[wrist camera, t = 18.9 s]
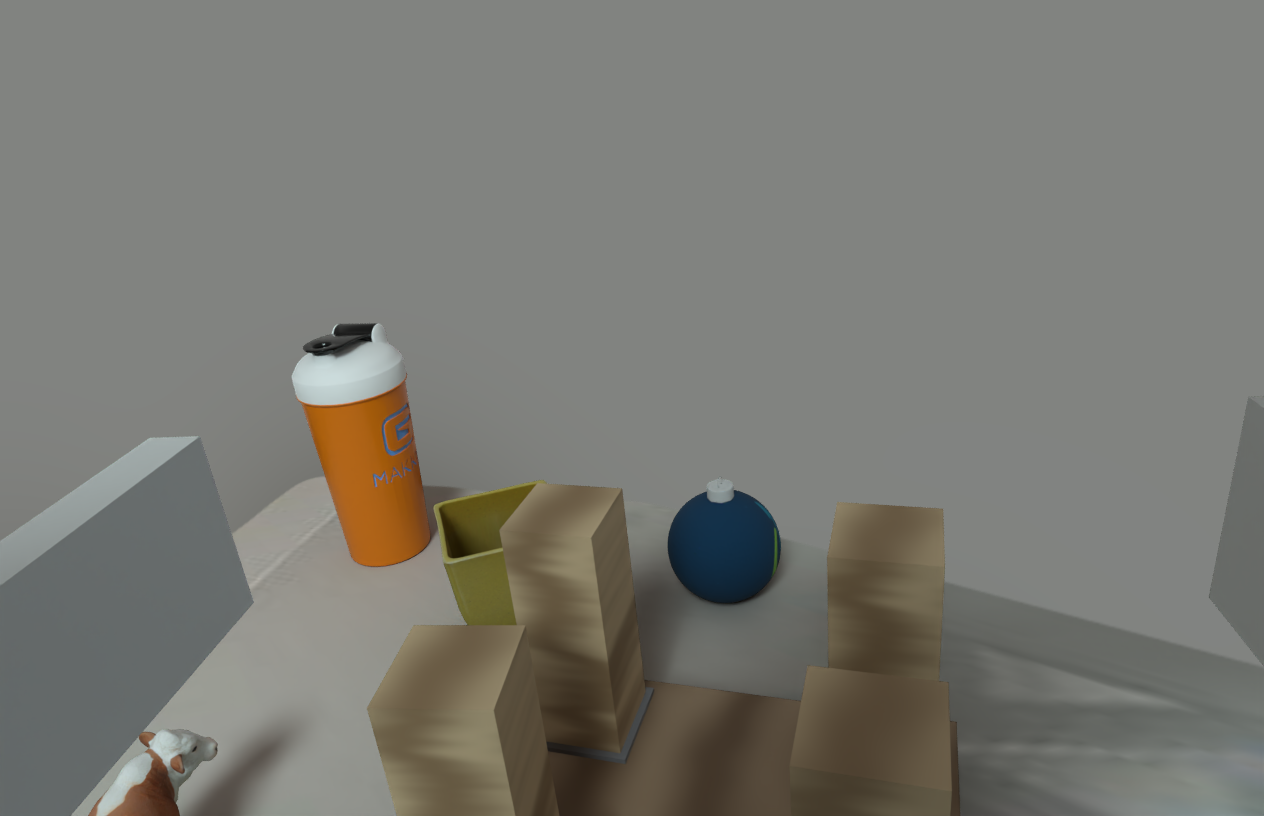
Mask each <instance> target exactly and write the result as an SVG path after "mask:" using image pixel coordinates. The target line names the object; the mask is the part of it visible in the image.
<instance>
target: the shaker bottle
mask: <svg viewBox="0 0 1264 816" xmlns="http://www.w3.org/2000/svg"><path fill="white" fill-rule="evenodd" d="M303 350H304V351H305V352H307V353H308V354H307V355H305V356H304V357H303V358H302V359H301V360H300V361H299V362H298V363H297V365H296V367H295V370H294V372H293V374H292V381H293V385H294V388H295V392H296V397H297V400H298V401H299V402H301V403H302V406H303V409H304V413H305V415H306V419H307V422H308V425H309V428H310V431H311V434H312V437H313V440H314V443H315V446H316V449H317V453H318V456H319V459H320V462H321V465H322V468H323V471H324V474H325V477H326V480H327V483H328V486H329V490H330V493H331V496H332V499H333V502H334V505H335V508H336V511H337V514H338V517H339V520H340V523H341V527H342V530H343V533H344V536H345V539H346V542H347V545H348V548H349V551H350V554H351V557H352V558H353V560H354V561H355V562H357V563H359V564H362V565H365V566H374V567H379V566H387V565H393V564H396V563H400V562H403V561H405V560H407V559H410V558H411V557H413V556H415V555H417V554H418V553H419V552H421V551H422V550H423V549H424V548H425V547H426V546H427V544H428V543H429V540H430V529H429V523H428V517H427V511H426V505H425V499H424V493H423V487H422V481H421V475H420V469H419V462H418V457H417V451H416V444H415V438H414V432H413V426H412V421H411V414H410V408H409V402H408V396H407V390H406V384H405V380H406V378H407V373H406V370H405V365H404V360H403V356H402V354H401V353H400V352H399V351H398V350H397V349H396V348H395V347H393V346H392V345H390V344H389V343H388V340H387V335H386V331H385V328H384V327H383V326H382V325H381V324H337V325H336V326H335V327H334V328H333V331H332V334H331V335H326V336H323V337H320V338H317V339H315V340H313V341H311V342H309V343H307V344H305V345H304V346H303Z"/></svg>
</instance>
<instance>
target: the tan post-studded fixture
mask: <svg viewBox="0 0 1264 816" xmlns="http://www.w3.org/2000/svg"><path fill="white" fill-rule="evenodd" d="M943 524H944V522H943V509H937V508H922V507H905V506H889V505H875V504H859V503H842V502H837V507H836V512H835V518H834V523H833V529H832V534H831V540H830V546H829V551H828V556H827V573H828V663H829V668H826V667H818V666H810V665H808V667H807V672H806V678H805V683H804V689H803V694H802V700H801V701H797V700H789V699H782V698H774V697H767V696H760V695H752V694H745V693H737V692H730V691H722V690H715V689H707V688H700V687H692V686H685V685H677V684H670V683H663V682H655V681H648V680H644V673H643V665H642V656H641V647H640V639H639V630H638V622H637V613H636V604H635V596H634V587H633V579H632V570H631V561H630V553H629V544H628V536H627V527H626V518H625V510H624V501H623V493H622V489H620V488H605V487H590V486H574V485H558V484H542V483H537V484H536V486H535V487H534V488H533V489H532V491H531V492H530V493H529V494H528V495H527V497H526V498H525V499H524V500H523V502H522V503H521V504H520V505H519V507H518V508H517V509H516V510H515V511H514V513H513V514H512V515H511V516H510V518H509V519H508V520H507V521H506V522H505V524H504V525H503V526H502V527H501V529H500V530H499V531H500V537H501V542H502V547H503V553H504V558H505V564H506V569H507V575H508V580H509V586H510V591H511V597H512V602H513V608H514V613H515V618H516V624H517V625H525V626H526V631H527V637H528V642H529V648H530V654H531V659H532V665H533V670H534V676H535V682H536V687H537V693H538V698H539V704H540V710H541V715H542V721H543V726H544V732H545V738H546V743H547V749H548V754H549V760H550V766H551V771H552V777H553V782H554V788H555V794H556V799H557V805H558V810H559V816H960V797H959V772H958V747H957V722H954V721H950V717H949V684H948V682H942V681H939V671H940V651H941V632H942V613H943V594H944V574H945V555H944V525H943Z"/></svg>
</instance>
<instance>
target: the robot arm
mask: <svg viewBox="0 0 1264 816" xmlns="http://www.w3.org/2000/svg"><path fill="white" fill-rule="evenodd" d="M1209 598H1210V599H1211V600H1212V602H1213V603H1214V604H1215V605H1216V607H1217V608H1218V609H1219V611H1220V612H1221V613H1222V614H1223V616H1224V617H1225V618H1226V619H1227V621H1228V622H1229V623H1230V624H1231V626H1232V627H1233V628H1234V629H1235V631H1236V632H1237V633H1238V634H1239V636H1240V637H1241V638H1242V639H1243V641H1244V642H1245V643H1246V645H1247V646H1248V647H1249V648H1250V650H1251V651H1252V652H1253V653H1254V655H1255V656H1256V657H1257V658H1258V659H1259V661H1260V662H1261V663H1262V665H1263V666H1264V396H1254V397H1248V401H1247V406H1246V411H1245V416H1244V421H1243V426H1242V432H1241V437H1240V442H1239V447H1238V452H1237V457H1236V462H1235V467H1234V472H1233V478H1232V482H1231V487H1230V492H1229V498H1228V503H1227V508H1226V513H1225V518H1224V523H1223V528H1222V533H1221V538H1220V544H1219V548H1218V554H1217V559H1216V564H1215V569H1214V574H1213V579H1212V584H1211V589H1210V594H1209ZM253 603H254V601H253V598H252V595H251V592H250V589H249V586H248V583H247V580H246V577H245V574H244V571H243V568H242V564H241V561H240V558H239V555H238V552H237V549H236V546H235V543H234V540H233V537H232V534H231V531H230V527H229V525H228V521H227V518H226V515H225V512H224V509H223V506H222V503H221V500H220V497H219V494H218V491H217V488H216V484H215V481H214V479H213V475H212V472H211V469H210V466H209V463H208V460H207V457H206V454H205V451H204V447H203V444H202V441H201V438H200V436H193V437H166V438H149V439H148V440H146V441H145V442H143V443H142V444H140V445H139V446H138V447H136V448H135V449H133V450H132V451H130V452H129V453H127V454H126V455H124V456H123V457H121V458H120V459H119V460H117V461H116V462H114V463H113V464H111V465H110V466H108V467H107V468H106V469H104V470H103V471H101V472H100V473H98V474H97V475H95V476H94V477H93V478H91V479H90V480H88V481H87V482H85V483H84V484H83V485H81V486H79V487H78V488H77V489H75V490H74V491H72V492H71V493H69V494H68V495H66V496H65V497H63V498H62V499H61V500H59V501H58V502H56V503H55V504H53V505H52V506H51V507H49V508H48V509H46V510H45V511H43V512H42V513H40V514H39V515H37V516H36V517H34V518H33V519H32V520H30V521H29V522H27V523H26V524H24V525H23V526H21V527H20V528H19V529H17V530H16V531H14V532H13V533H11V534H10V535H8V536H7V537H5V538H4V539H3V540H1V541H0V816H71V814H72V813H73V812H74V811H75V810H76V809H77V807H78V806H79V805H80V804H81V803H82V802H83V800H84V799H85V798H86V797H87V796H88V795H89V793H90V792H91V791H92V790H93V789H94V788H95V786H96V785H97V784H98V783H99V782H100V781H101V779H102V778H103V777H104V776H105V775H106V774H107V772H108V771H109V770H110V769H111V768H112V767H113V766H114V764H115V763H116V762H117V761H118V760H119V759H120V757H121V756H122V755H123V754H124V753H125V752H126V750H127V749H128V748H129V747H130V746H131V745H132V743H133V742H134V741H135V740H136V739H137V738H138V736H139V735H140V734H141V733H142V732H143V731H144V729H145V728H146V727H147V726H148V725H149V724H150V722H151V721H152V720H153V719H154V718H155V717H156V715H157V714H158V713H159V712H160V711H161V710H162V709H163V707H164V706H165V705H166V704H167V703H168V702H169V700H170V699H171V698H172V697H173V696H174V695H175V693H176V692H177V691H178V690H179V689H180V688H181V686H182V685H183V684H184V683H185V682H186V681H187V679H188V678H189V677H190V676H191V675H192V674H193V672H194V671H195V670H196V669H197V668H198V667H199V665H200V664H201V663H202V662H203V661H204V660H205V658H206V657H207V656H208V655H209V654H210V653H211V652H212V650H213V649H214V648H215V647H216V646H217V645H218V643H219V642H220V641H221V640H222V639H223V638H224V636H225V635H226V634H227V633H228V632H229V631H230V629H231V628H232V627H233V626H234V625H235V624H236V622H237V621H238V620H239V619H240V618H241V617H242V615H243V614H244V613H245V612H246V611H247V610H248V608H249V607H250V606H251V605H252V604H253Z"/></svg>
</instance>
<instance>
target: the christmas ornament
mask: <svg viewBox="0 0 1264 816" xmlns="http://www.w3.org/2000/svg"><path fill="white" fill-rule="evenodd" d="M780 551H781V542H780V535H779V531H778V528H777V526H776V523H775V521H774V519H773V517H772V516H771V514H770V513H769V511H768V510H767V509H766V508H765V507H764V506H763V505H762V504H761V503H760V502H759V501H757V500H756V499H755V498H753V497H751V496H749V495H747V494H745V493H743V492H740V491H736V490H734V488H733V483H732V482H731V481H729V480H725V479H719V478H718V479H717V480H713V481H710V482H709V483H708V484H707V492H704V493H702V494H700V495H697V496H695V497H694V498H692V499H691V500H690V501H688V502H687V503H686V504H685V505H684V506H683V507H682V508H681V509H680V510H679V512H678V513H677V515H676V516H675V518H674V520H673V522H672V525H671V528H670V531H669V536H668V554H669V559H670V563H671V566H672V568H673V570H674V572H675V574H676V576H677V577H678V579H679V580H680V581H681V582H682V584H683V585H684V586H685V587H686V588H687V589H689V590H690V591H691V592H693V593H694V594H696V595H697V596H699V597H701V598H703V599H706V600H709V601H713V602H719V603H732V602H737V601H741V600H744V599H747V598H749V597H751V596H753V595H754V594H756V593H758V592H759V591H760V590H761V589H762V588H764V587H765V585H766V584H767V583H768V582H769V581H770V579H771V578H772V576H773V575H774V573H775V571H776V568H777V566H778V562H779V559H780Z"/></svg>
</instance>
